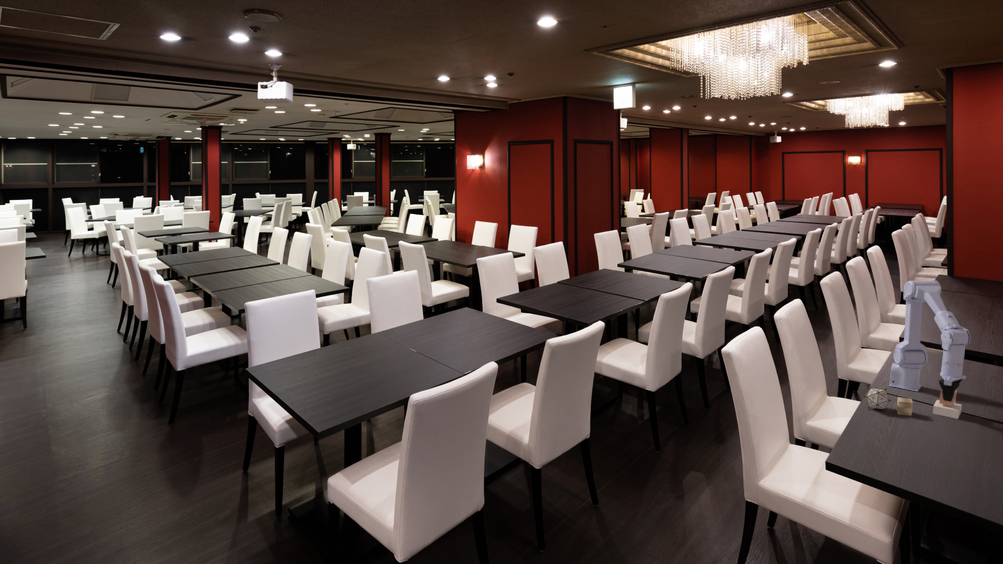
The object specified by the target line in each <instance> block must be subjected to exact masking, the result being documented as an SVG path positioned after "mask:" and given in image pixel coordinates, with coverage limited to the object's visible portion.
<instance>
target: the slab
mask: <svg viewBox="0 0 1003 564" xmlns="http://www.w3.org/2000/svg"><path fill="white" fill-rule="evenodd" d="M939 401H940V399H936V401H935V403H934V404H933V406H932V407H933V409H932V414H933V415H938V416H942V417H946V418H951V419H956V420H959V417H960V415H961V414H962V407H963V406H962V404H960V403H956V402H955V405H954V406H949V405H944V404H940V403H939Z"/></svg>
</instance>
